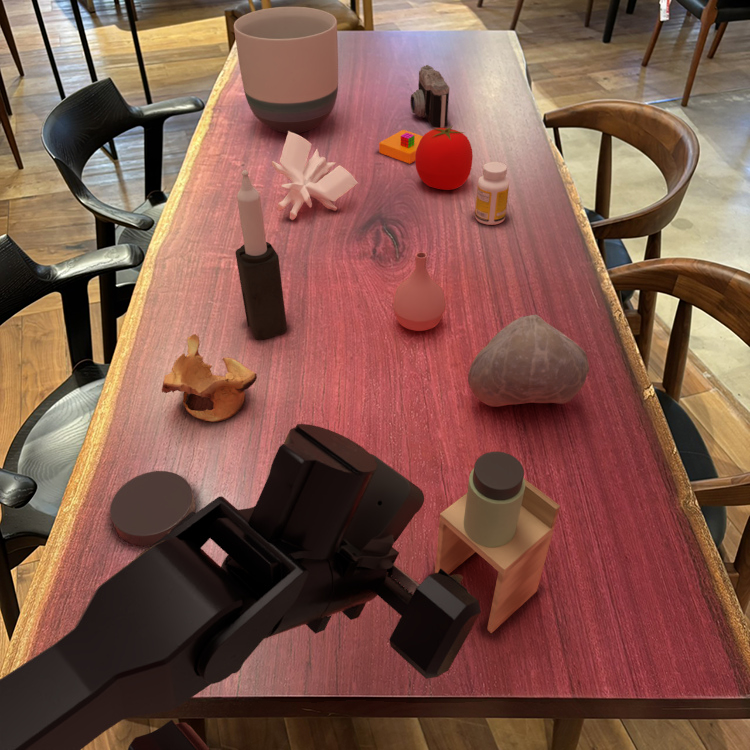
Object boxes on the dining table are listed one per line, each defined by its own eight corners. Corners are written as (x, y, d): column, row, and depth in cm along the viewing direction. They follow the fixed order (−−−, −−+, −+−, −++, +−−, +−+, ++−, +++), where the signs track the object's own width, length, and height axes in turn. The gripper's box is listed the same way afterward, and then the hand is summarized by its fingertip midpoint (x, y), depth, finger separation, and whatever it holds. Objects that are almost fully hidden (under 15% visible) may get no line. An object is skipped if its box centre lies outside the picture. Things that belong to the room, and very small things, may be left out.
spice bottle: (506, 555, 64) (518, 500, 58) (456, 536, 65) (462, 480, 60) (522, 515, 67) (534, 459, 61) (473, 497, 68) (481, 441, 63)
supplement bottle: (504, 210, 130) (510, 160, 123) (505, 226, 126) (512, 175, 119) (474, 209, 130) (479, 158, 123) (474, 225, 126) (479, 173, 119)
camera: (403, 104, 165) (404, 59, 158) (431, 101, 166) (433, 56, 159) (419, 131, 154) (421, 84, 147) (449, 128, 155) (452, 81, 148)
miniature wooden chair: (491, 633, 70) (508, 550, 61) (434, 579, 75) (441, 493, 65) (537, 591, 74) (560, 505, 64) (479, 541, 78) (493, 454, 68)
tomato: (455, 203, 132) (459, 148, 124) (405, 189, 136) (406, 134, 128) (480, 179, 138) (485, 125, 131) (431, 167, 142) (434, 113, 135)
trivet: (162, 558, 77) (158, 547, 76) (97, 528, 80) (92, 518, 79) (211, 497, 83) (208, 486, 82) (148, 471, 86) (144, 460, 84)
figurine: (311, 250, 134) (348, 195, 139) (328, 227, 123) (367, 169, 128) (243, 202, 131) (284, 148, 136) (254, 174, 121) (298, 117, 125)
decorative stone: (567, 373, 98) (588, 284, 87) (592, 429, 90) (618, 338, 80) (458, 383, 97) (467, 293, 86) (475, 440, 89) (486, 349, 79)
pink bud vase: (441, 343, 103) (446, 273, 95) (388, 337, 104) (389, 268, 96) (446, 310, 108) (451, 242, 100) (396, 305, 109) (397, 237, 101)
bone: (166, 431, 91) (152, 384, 85) (173, 379, 98) (160, 331, 92) (262, 423, 92) (253, 375, 86) (262, 371, 99) (254, 324, 93)
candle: (245, 321, 107) (219, 165, 90) (277, 312, 108) (257, 157, 91) (256, 341, 103) (230, 183, 86) (289, 332, 105) (270, 174, 88)
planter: (234, 142, 151) (217, 35, 136) (266, 104, 166) (254, 4, 151) (327, 151, 148) (320, 42, 133) (351, 111, 162) (347, 9, 147)
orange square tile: (379, 152, 147) (378, 132, 144) (403, 139, 151) (403, 119, 148) (409, 164, 143) (410, 143, 140) (433, 150, 148) (434, 130, 145)
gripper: (463, 564, 41) (556, 532, 54) (257, 404, 51) (378, 409, 64) (380, 715, 43) (488, 649, 56) (198, 535, 53) (326, 514, 66)
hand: (416, 547), depth 60 cm, fingers open, 9 cm apart
